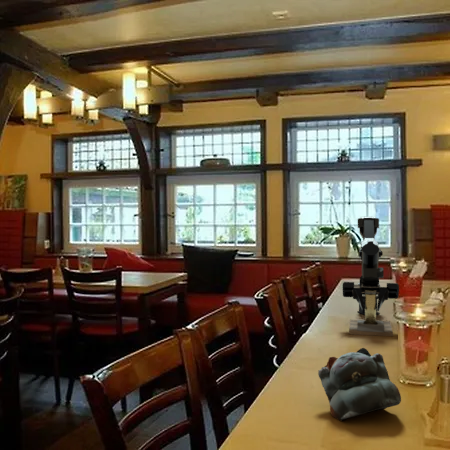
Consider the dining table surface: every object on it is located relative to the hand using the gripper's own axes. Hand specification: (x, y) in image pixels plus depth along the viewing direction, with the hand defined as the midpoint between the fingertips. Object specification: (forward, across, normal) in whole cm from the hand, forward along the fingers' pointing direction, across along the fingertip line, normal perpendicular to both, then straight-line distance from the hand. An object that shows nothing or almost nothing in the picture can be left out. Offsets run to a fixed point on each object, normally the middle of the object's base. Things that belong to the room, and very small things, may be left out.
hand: (370, 310), depth 179 cm
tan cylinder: (+3, 0, +5) cm, 6 cm away
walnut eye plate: (+1, 0, +10) cm, 10 cm away
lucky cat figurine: (+58, -4, -47) cm, 75 cm away
